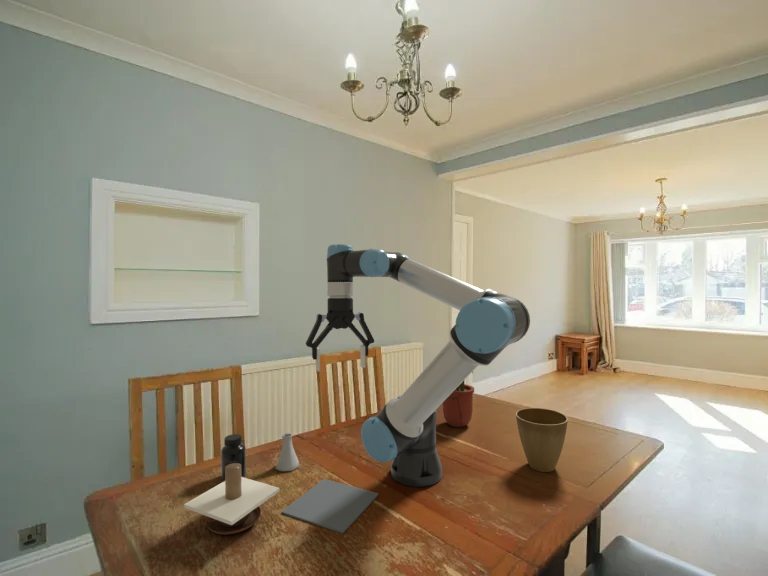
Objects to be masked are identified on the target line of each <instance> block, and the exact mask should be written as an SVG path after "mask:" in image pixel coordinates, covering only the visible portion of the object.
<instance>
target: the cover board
mask: <svg viewBox="0 0 768 576" xmlns="http://www.w3.org/2000/svg"><path fill="white" fill-rule="evenodd" d="M280 491H281V490H280V487H279V486H278V487H277V486H275V485H270V484H267V483H264V482H260V481H256V480H254V479H250V478H247V477H241V464H239V463H233V464H229V465H227V466H226V467H225V481H222V482H221V483H219V484H216V485H215V486H214V487H212V488H210V489H208V490H206V491H204V492H203V493H201V494H200V495H198V496H196V497H194V498H193V499H191V500H189V501H187V502H186V503H184V504H183V507H184V509H187V510H188V511H192V512H195V513H196V514H197V513H198V514H200V515H202V516H205V517H207V516H208V517H210V518H213V519H216V520H219V521H221V522H224V523H227V524H229V525H233V524H234V523H236V522H237V521H238V520H240V519H241V518H243V517H244V516H245V515H247V514H248V513H250V512H251V511H252V510H254V509H255V508H257V507H258V506H259V507H260V506H261V505H263V504H264V503H265V502H266V501H268V500H270V499H271V498H272V497H273V496H275V495H277V494H278V493H280Z"/></svg>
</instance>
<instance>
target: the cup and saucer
mask: <svg viewBox="0 0 768 576" xmlns="http://www.w3.org/2000/svg"><path fill="white" fill-rule="evenodd" d="M261 511H262V510H261V508H260V505H259V506H258V507H257V508H255V509H254V510H252V511H251V512H250V513H248V514H247V515H245V516H244V517H243V518H241V519H240V520H238V521H237V522H236V523H234V524H233V525H229V524H227V523H224V522H221V521H219V520H216V519H213V518H210V517H208V516H206V525H207V528H208V529H209V530H210V531H211V532H212V533H215V534H218V535H225V536H226V535H227V536H228V535H235V534H238V533H241V532H243V531H245V530H248V529H249V528H251V527H252V526H253V525H254V524H255V523H257V521H258V520H259V518H260V516H261Z"/></svg>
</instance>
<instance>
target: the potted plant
mask: <svg viewBox="0 0 768 576" xmlns="http://www.w3.org/2000/svg"><path fill="white" fill-rule="evenodd" d="M471 374H474V370H473V371H472V372H471ZM465 381H466V379H465V380H464V381H463V382H462V383H461V384H460V385H459V386H458V387H457V388H456V389H455V390H454V391H453V392H452V393H451V394H450V395H449V396H448V397H447V399H446V400H445V401H444V402H443V403H442V412H443V418H444V420H445V421H446V423H447V424H448V425H450V426H452V427H453V428H463V427H464V428H465V427H466V426H467V425H468V424H469V423H470V422H471V420H472V417H473V409H474V408H473V406H474V403H473V401H474V400H473V399H474V393H475V387H474V386H472V385H470V384H465Z"/></svg>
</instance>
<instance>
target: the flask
mask: <svg viewBox="0 0 768 576" xmlns="http://www.w3.org/2000/svg"><path fill="white" fill-rule="evenodd" d="M281 438H282V444H281V445H282V446H281V450H280V453H279V457H278V458H277V459H278V460H277V463H276V466H275V470H277V471H279V472H292V471H294V470H295V469H298V468H299V466H300V461H299V457H298V456H297V454H296V451H295V449H294V445H293V440H292V439H293V433H291V432H289V433H288V432H287V433H286V432H285V433H284V434H281Z"/></svg>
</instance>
